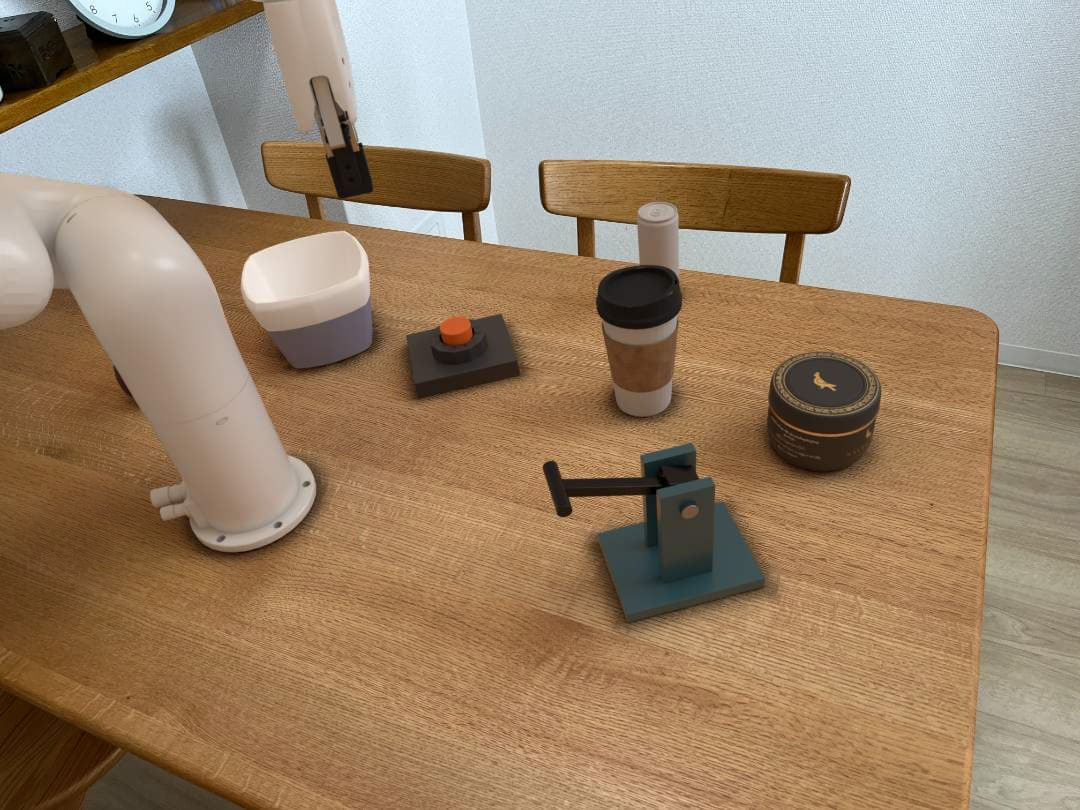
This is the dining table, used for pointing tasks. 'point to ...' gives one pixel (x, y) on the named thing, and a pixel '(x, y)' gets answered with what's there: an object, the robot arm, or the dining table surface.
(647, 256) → the beverage can
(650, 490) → the lever
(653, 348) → the coffee cup
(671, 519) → the lever base
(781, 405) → the jar
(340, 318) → the bowl
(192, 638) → the dining table surface
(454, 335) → the button
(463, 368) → the button block
